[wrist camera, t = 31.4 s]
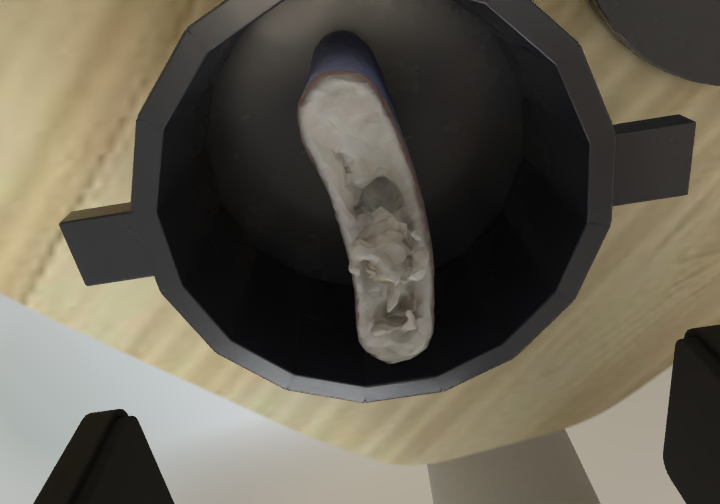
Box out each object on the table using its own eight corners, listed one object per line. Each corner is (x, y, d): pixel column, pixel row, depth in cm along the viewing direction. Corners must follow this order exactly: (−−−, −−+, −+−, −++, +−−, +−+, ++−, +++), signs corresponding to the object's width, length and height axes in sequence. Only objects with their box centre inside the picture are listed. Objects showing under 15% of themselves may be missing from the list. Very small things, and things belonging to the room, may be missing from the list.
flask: (303, 38, 22) (275, 102, 12) (378, 19, 21) (410, 68, 12) (359, 248, 26) (372, 418, 16) (423, 234, 26) (473, 397, 16)
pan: (596, 260, 27) (680, 359, 20) (187, 321, 28) (138, 435, 21) (611, -94, 20) (742, -119, 14) (72, 1, 21) (-50, 20, 15)
